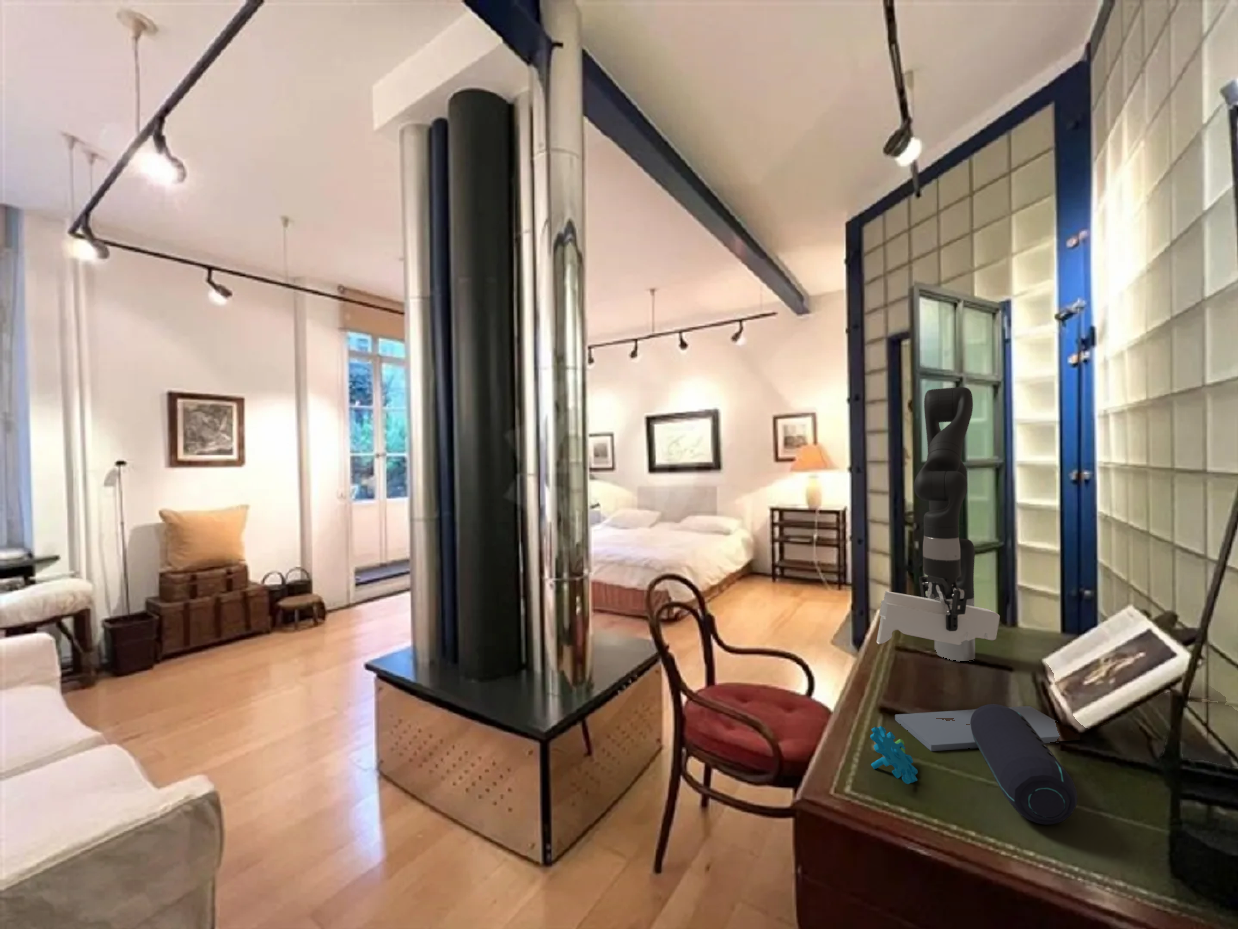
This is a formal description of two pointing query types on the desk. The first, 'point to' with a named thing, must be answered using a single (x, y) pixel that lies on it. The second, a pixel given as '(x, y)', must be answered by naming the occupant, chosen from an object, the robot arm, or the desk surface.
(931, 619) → the shelf bracket
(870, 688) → the desk surface
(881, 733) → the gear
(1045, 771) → the portable speaker
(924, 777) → the desk surface
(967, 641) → the robot arm
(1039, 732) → the plate
